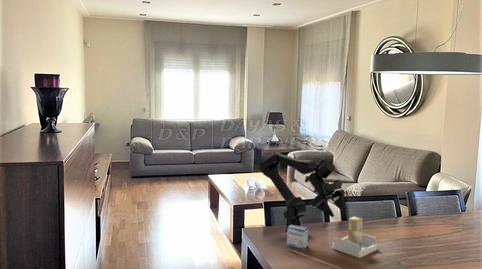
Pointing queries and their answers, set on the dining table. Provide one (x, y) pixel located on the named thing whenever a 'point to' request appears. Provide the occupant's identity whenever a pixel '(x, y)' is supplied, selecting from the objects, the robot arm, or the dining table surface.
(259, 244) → the dining table surface
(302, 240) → the medicine box
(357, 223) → the birch block
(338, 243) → the white open box
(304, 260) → the dining table surface
